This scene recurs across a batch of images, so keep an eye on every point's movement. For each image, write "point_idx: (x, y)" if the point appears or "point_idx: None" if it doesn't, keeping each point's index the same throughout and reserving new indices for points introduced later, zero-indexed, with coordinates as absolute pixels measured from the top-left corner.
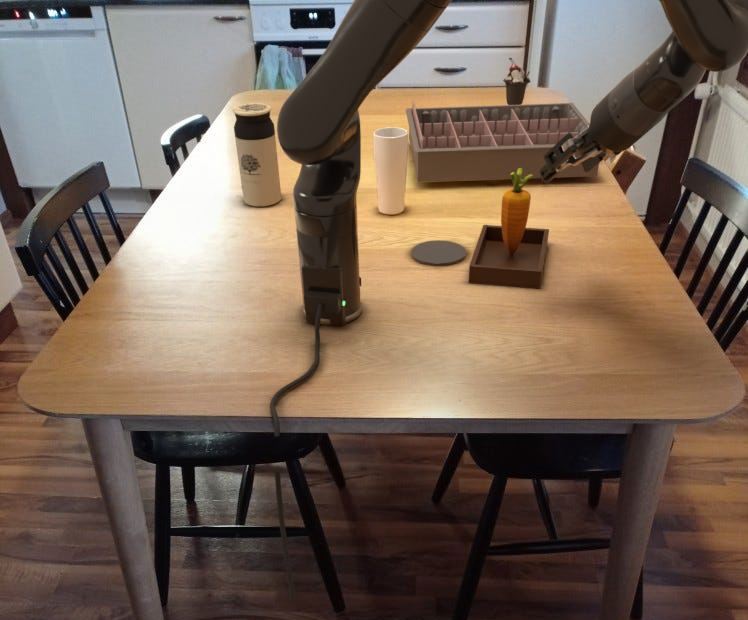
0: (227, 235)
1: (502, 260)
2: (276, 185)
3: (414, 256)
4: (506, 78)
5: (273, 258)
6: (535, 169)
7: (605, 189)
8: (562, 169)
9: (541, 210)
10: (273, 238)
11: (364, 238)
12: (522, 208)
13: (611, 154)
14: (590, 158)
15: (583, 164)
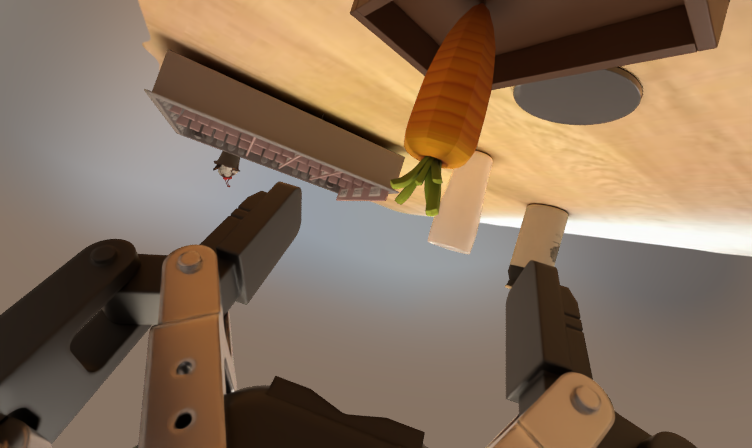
0: (660, 222)
1: (526, 3)
2: (539, 222)
3: (621, 116)
4: (236, 172)
5: (722, 204)
6: (262, 105)
7: (157, 21)
8: (559, 386)
9: (292, 51)
10: (644, 204)
11: (580, 159)
12: (453, 118)
13: (165, 341)
14: (271, 249)
15: (296, 216)
